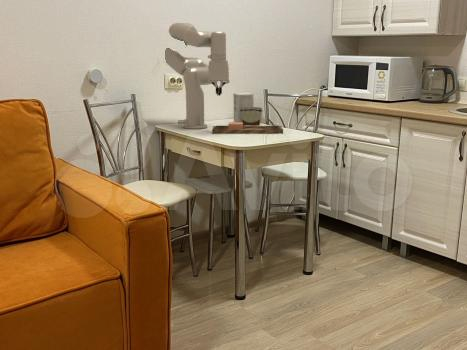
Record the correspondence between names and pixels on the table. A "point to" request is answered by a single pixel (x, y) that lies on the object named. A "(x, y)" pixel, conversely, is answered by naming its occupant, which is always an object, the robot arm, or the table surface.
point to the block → (235, 125)
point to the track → (248, 130)
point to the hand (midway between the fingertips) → (218, 95)
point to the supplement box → (242, 104)
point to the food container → (251, 116)
